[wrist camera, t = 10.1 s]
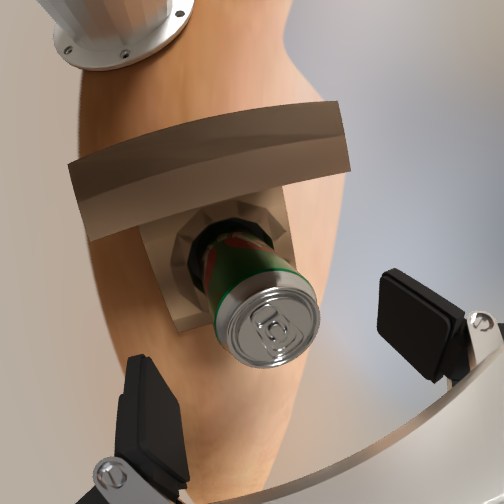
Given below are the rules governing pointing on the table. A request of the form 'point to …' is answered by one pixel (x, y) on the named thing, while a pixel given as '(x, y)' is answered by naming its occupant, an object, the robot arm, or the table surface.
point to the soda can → (255, 297)
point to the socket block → (207, 187)
